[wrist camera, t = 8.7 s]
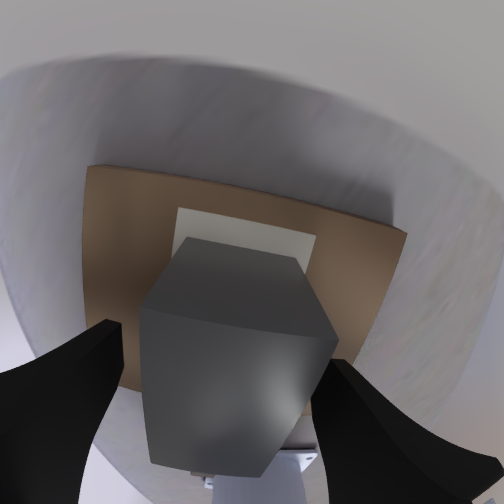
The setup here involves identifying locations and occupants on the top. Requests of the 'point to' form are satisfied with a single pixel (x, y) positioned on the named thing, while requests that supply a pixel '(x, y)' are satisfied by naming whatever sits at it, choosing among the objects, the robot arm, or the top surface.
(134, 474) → the top surface
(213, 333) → the block
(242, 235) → the pin board
